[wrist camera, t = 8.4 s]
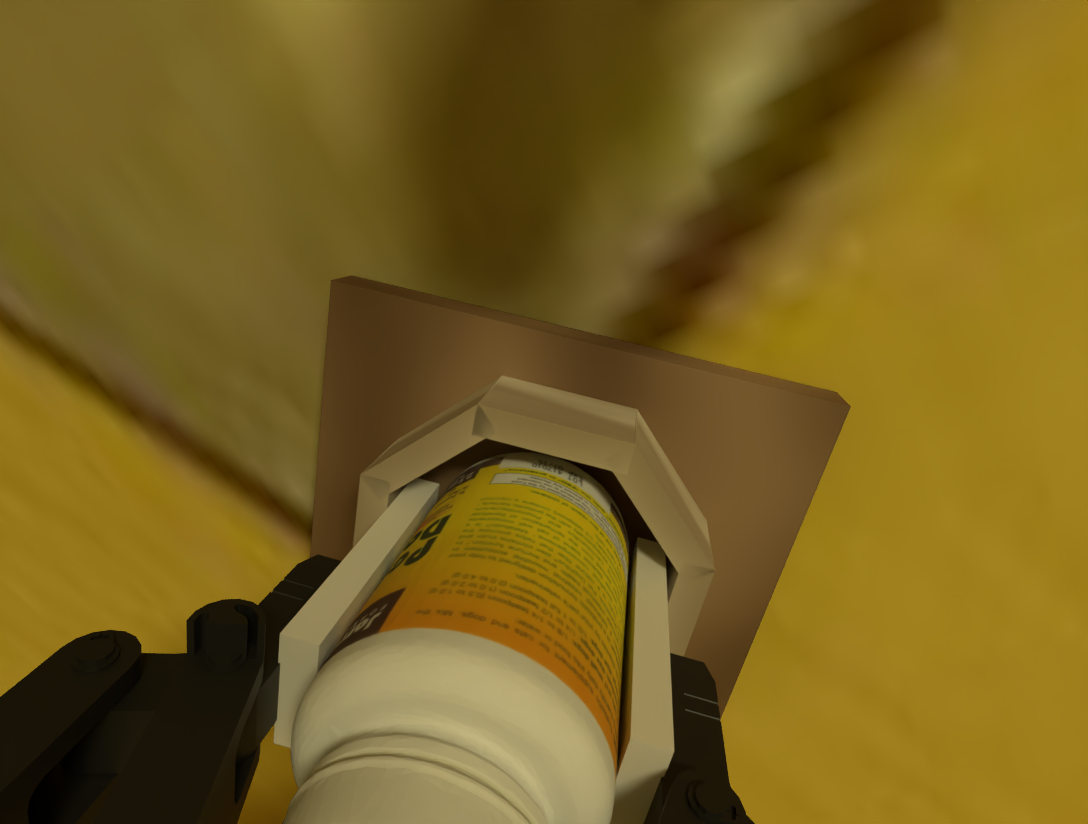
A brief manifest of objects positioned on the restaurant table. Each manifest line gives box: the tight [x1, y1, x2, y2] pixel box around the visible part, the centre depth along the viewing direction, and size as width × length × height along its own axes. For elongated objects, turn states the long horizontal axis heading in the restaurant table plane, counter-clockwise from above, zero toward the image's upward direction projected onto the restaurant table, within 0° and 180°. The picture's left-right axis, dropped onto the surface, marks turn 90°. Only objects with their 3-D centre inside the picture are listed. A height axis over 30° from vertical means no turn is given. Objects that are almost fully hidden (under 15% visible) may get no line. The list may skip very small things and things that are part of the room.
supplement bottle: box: [282, 452, 629, 824], centre depth 12 cm, size 6×6×10 cm
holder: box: [310, 276, 851, 719], centre depth 17 cm, size 14×12×4 cm
